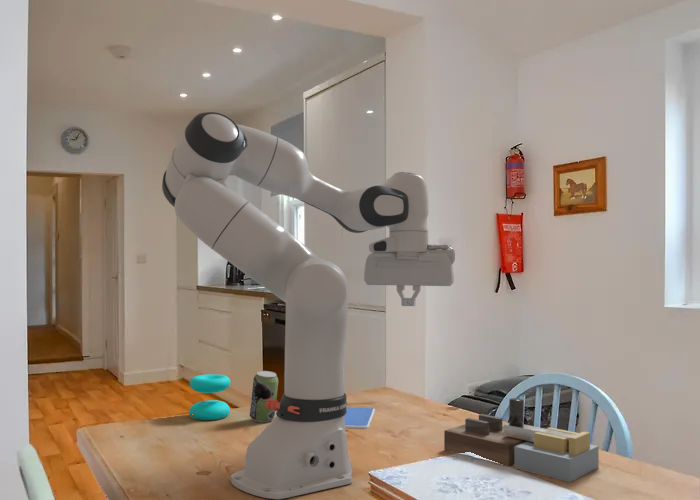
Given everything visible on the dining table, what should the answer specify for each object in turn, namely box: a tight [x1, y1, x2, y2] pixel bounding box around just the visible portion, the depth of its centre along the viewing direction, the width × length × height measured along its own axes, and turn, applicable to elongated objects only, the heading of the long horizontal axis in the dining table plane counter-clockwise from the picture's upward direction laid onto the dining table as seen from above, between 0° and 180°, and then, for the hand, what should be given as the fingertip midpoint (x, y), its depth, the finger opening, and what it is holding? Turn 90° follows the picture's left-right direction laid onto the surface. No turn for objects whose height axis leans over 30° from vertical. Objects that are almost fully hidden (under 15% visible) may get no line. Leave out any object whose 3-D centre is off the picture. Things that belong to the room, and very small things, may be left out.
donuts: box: [188, 373, 231, 421], centre depth 157 cm, size 10×10×10 cm
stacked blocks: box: [513, 427, 600, 483], centre depth 118 cm, size 12×11×7 cm
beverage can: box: [249, 370, 279, 423], centre depth 153 cm, size 6×7×12 cm
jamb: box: [443, 413, 528, 467], centre depth 128 cm, size 12×15×6 cm
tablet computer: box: [344, 406, 376, 430], centre depth 156 cm, size 19×13×1 cm, turn 173°
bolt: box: [503, 397, 574, 450], centre depth 121 cm, size 3×14×7 cm, turn 45°
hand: (408, 306), depth 141 cm, fingers closed
